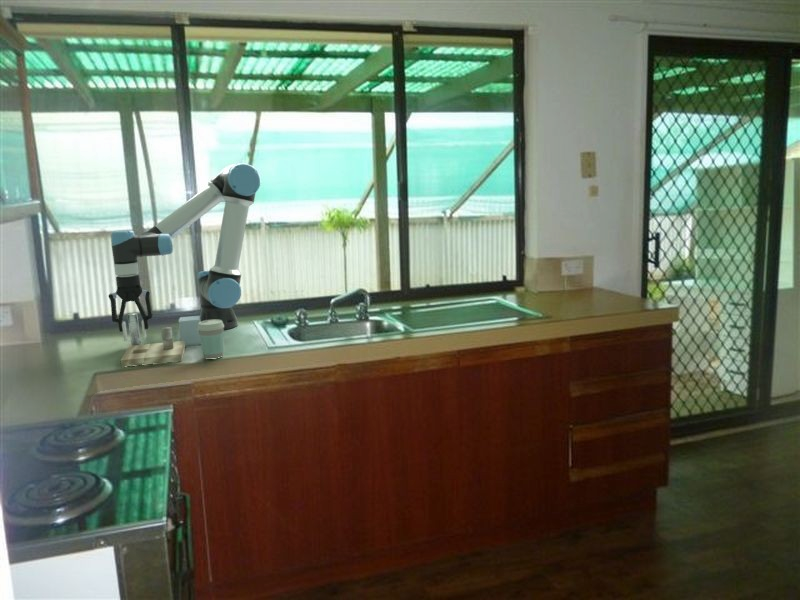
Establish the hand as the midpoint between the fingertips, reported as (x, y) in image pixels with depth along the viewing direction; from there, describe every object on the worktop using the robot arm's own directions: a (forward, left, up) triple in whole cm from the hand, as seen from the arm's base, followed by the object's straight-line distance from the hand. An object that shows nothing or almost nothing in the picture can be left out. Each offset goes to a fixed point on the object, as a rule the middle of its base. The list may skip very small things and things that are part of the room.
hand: (135, 339), depth 215 cm
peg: (0, 0, -3) cm, 3 cm away
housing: (-19, +2, -3) cm, 19 cm away
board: (-8, +17, -3) cm, 19 cm away
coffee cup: (-27, +25, -3) cm, 37 cm away
